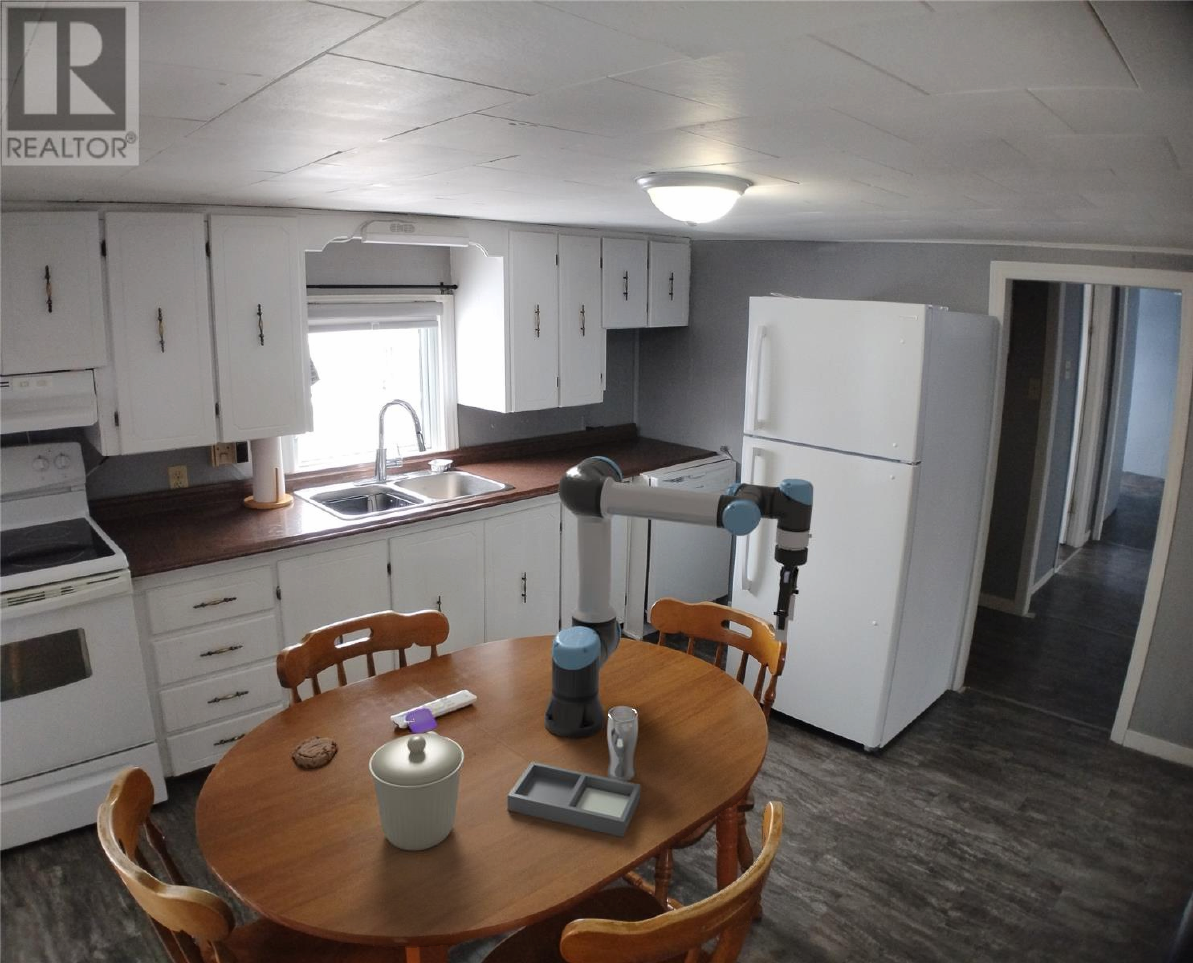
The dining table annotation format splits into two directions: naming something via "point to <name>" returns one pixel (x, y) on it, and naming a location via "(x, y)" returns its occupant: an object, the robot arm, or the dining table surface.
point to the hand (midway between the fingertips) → (784, 630)
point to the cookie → (314, 751)
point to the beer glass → (621, 741)
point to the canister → (417, 788)
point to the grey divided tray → (575, 798)
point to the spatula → (421, 721)
